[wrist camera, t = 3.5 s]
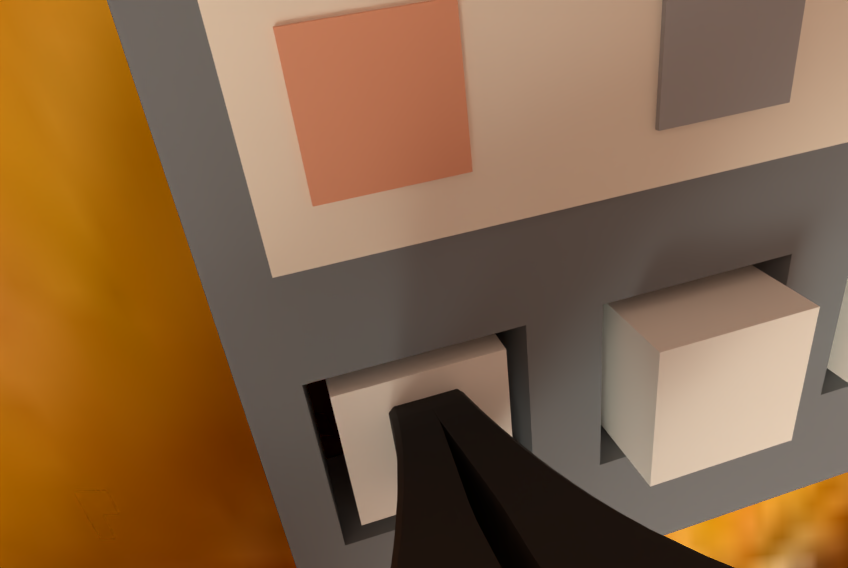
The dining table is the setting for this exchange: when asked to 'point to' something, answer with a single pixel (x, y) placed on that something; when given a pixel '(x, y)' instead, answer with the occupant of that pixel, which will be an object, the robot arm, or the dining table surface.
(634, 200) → the button board
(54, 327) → the dining table surface
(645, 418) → the middle button
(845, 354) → the button
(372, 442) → the button
